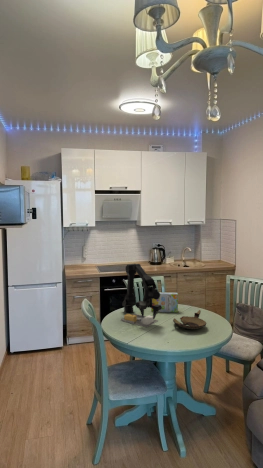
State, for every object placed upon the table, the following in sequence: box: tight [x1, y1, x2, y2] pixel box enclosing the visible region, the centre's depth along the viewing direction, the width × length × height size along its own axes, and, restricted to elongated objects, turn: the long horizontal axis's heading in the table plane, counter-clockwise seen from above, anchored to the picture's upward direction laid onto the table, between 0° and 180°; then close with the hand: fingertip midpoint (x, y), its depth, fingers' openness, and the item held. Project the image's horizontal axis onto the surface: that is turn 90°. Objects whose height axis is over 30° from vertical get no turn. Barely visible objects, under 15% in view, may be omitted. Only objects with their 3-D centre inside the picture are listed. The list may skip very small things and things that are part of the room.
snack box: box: [150, 291, 179, 313], centre depth 254 cm, size 21×6×15 cm, turn 84°
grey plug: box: [143, 315, 155, 325], centre depth 224 cm, size 4×9×4 cm, turn 145°
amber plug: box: [123, 313, 137, 322], centre depth 227 cm, size 4×9×4 cm, turn 55°
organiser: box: [120, 313, 159, 328], centre depth 228 cm, size 23×16×3 cm
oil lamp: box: [172, 309, 207, 330], centre depth 220 cm, size 22×30×8 cm
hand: (148, 317), depth 223 cm, fingers open, 9 cm apart
